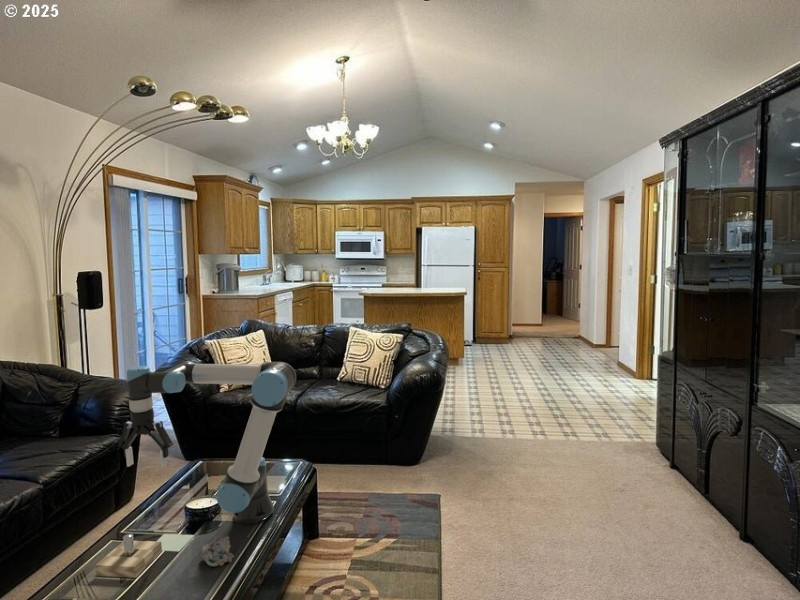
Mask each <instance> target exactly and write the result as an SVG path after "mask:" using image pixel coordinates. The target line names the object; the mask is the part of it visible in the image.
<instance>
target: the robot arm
mask: <svg viewBox="0 0 800 600" xmlns="http://www.w3.org/2000/svg"><path fill="white" fill-rule="evenodd" d="M296 382H297V374H296V371H295V369H294V367H293V366H292V365H290V364H289V363H287V362H285V361H284V362H283V361H263V362H261V364H243V363H241V364H240V363H239V364H238V363H236V364H232V363H227V364H226V363H225V364H224V363H218V364H217V363H195V362H193V361H189V360H188V361H183V362H180V363H179V364H177V365H175V366H174V367H173V366H172V367H170V368H169V369H167V370H165V371H151V370H150V367H149V366H147V365H138V366H137V365H136V366H132V367H130V368H128V369H127V370H126V386H127V393H128V405H129V411H130V412H129V413H130V415H129V416H130V420H129V421H126V422H124V423H123V430H122V432H121V435H120V438H119V441H118V444H117V447H118V448H122V450H123V457H124V458H126V459H125V460H126V467H127V468H128V467H131V466H133V465H134V462H135V461H134V454H133V453H134V452H133V447H132V446H131V445H132V443H133V442H134V441H135V439H136V437H138V436H140V435H143V436H148V437H150V438H151V439H153V441H154V442H155V444H156V445H158V446H159V447H160V450H159V457H160V467H161V468H164V467H166V466H167V465H169V464H168V462H169V461H168V457H169V456H170V455H169V448H170V447H172V446H173V445H174V443H173V441H172V439H171V437H170V436H169V434H168V433H167V430H166V429H165V427H164V423H163V421H161V420H159V421H158V422H157V421H156V422H155V421H154V419H155V418H154V417H155V414H154V413H155V412H154V408H153V406H154V403H153V402H154V401H153V394H173V393H181V392H182V391H183V390H184V388H185V386H186V384H199V385H200V384H202V385H203V384H205V385H206V384H207V385H210V384H211V385H251V398H250V403H251V405H252V408H251V412H250V415H249V418H248V421H247V424H246V427H245V430H244V433H243V436H242V439H241V441H240V444H239V448H238V452H237V455H236V457H235V460H234V462H233V463H234V464H231V465H230V466H229V467H228V468H227V472H226V474H225V477H224V480H223V482H222V484H221V485H220V486H219V488H218V489H217V492H216V497H215V498H216V501H217V504H218V505H219V507H220V509H222V510H224V511H225V512H227V513H230V514H233V520H234V522H236V523H238V524H240V525H255V524H259V523H261V522H260V521H262V520H263V519H264V518H266V517H267V516H269V515H270V514H271V513H272V512H273V510H274V511H275V508H274V504H273V501H272V499H271V497H270V495H269V491H268V479H267V478H268V476H267V464H266V459H265V457H263V455H264V451H265V449H266V445H267V442H268V439H269V436H270V434H271V431H272V427H273V425H274V423H275V420H276V419H275V418H276V416H277V413H280V412H281V411H282V410H284V409H283V408H284V405H285V403H286V400H287V397H288V395H289V392H290V391H291V390H292V389H294V387H295V385H296ZM131 429H133V430H132V432H131ZM130 432H131V434H130ZM273 513H274V512H273ZM258 522H259V523H258ZM262 522H263V521H262Z"/></svg>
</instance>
